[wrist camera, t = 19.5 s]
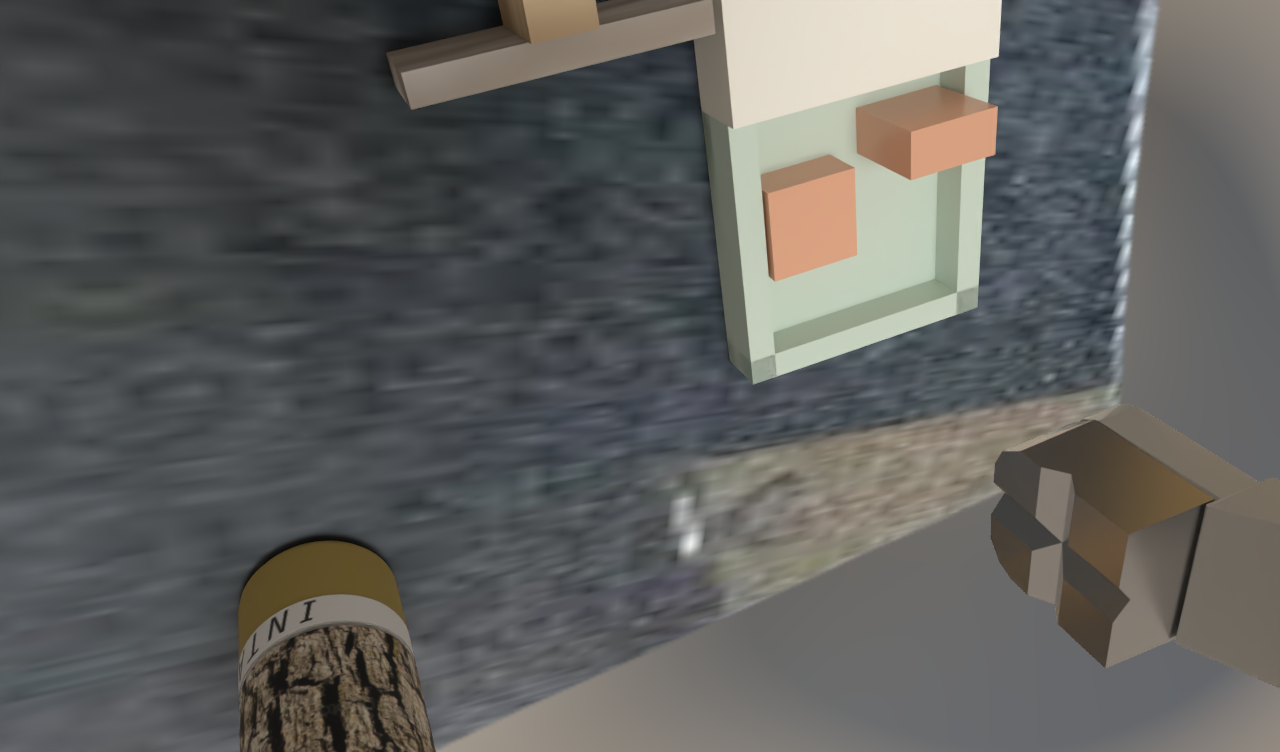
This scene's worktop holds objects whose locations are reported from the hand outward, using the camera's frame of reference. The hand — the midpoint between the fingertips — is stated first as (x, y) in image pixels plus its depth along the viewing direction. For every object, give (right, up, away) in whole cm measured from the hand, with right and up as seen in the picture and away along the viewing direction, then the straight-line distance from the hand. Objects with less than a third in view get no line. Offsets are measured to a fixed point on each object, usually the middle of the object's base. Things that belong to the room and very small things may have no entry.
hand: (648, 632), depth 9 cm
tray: (+9, +10, +34) cm, 36 cm away
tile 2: (+12, +13, +30) cm, 35 cm away
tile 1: (+7, +9, +30) cm, 33 cm away
